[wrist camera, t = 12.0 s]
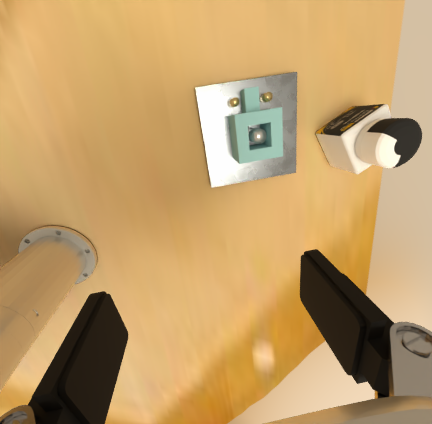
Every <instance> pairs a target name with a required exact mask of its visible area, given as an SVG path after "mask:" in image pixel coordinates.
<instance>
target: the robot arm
mask: <svg viewBox="0 0 432 424" xmlns="http://www.w3.org/2000/svg"><path fill="white" fill-rule="evenodd" d="M96 265H97V254H96V251H95V249H94V247H93V246H92V244H91V243H90V242H89V241H88V240H87V238H85V237H84V236H83V235H81V234H80V233H78V232H76V231H74V230H71V229H69V228H65V227H61V226H44V227H41V228H37V229H35V230H33V231H31V232H30V233H29V234H27V235H26V236H25V237H24V238H23V239H22V241H21V242H20V244H19V249H18V255H16V256H15V257H14V258H13V259H11V260H10V261H9V262H8V263H6V264H5V265H4V266H2V267H1V268H0V392H1V391H2V389H3V387H4V386H5V384H6V383H7V381H8V379H9V378H10V376H11V375H12V373H13V372H14V370H15V369H16V367H17V366H18V364H19V363H20V361H21V360H22V358H23V357H24V355H25V354H26V353H27V351H28V350H29V348H30V347H31V345H32V344H33V343H34V341H35V340H36V338H37V337H38V335H39V334H40V333H41V331H42V330H43V328H44V327H45V325H46V324H47V322H48V321H49V320H50V318H51V317H52V315H53V314H54V312H55V311H56V310H57V308H58V307H59V305H60V304H61V302H62V301H63V300H64V298H65V297H66V295H67V294H68V292H69V291H70V289H71V288H72V287H73V285H74V284H78V283H80V282H83V281H84V280H86V279H87V278H89V276H90V275H91V274H92V273H93V271H94V270H95V267H96ZM300 298H301V301H302V303H303V305H304V306H305V308H306V310H307V311H308V313H309V314H310V316H311V318H312V319H313V321H314V322H315V324H316V326H317V327H318V329H319V330H320V332H321V334H322V335H323V337H324V338H325V340H326V342H327V343H328V345H329V347H330V348H331V350H332V351H333V353H334V354H335V356H336V358H337V359H338V361H339V363H340V364H341V366H342V367H343V369H344V371H345V372H346V373H347V374H348V375H352V377H353V378H354V380H355V381H356V383H357V384H358V383H363V382H367V381H368V383H369V384H370V386H371V387H372V389H373V390H375V399H372V400H367V401H362V402H358V403H353V404H348V405H343V406H338V407H334V408H329V409H324V410H321V411H316V412H312V413H307V414H303V415H299V416H294V417H290V418H286V419H282V420H277V421H273V422H269V423H264V424H432V332H431V331H429V330H427V329H425V328H424V327H422V326H419V325H416V324H414V323H409V322H398V323H394V322H392V321H391V320H390V319H389V318H388V317H387V316H386V315H385V314H384V313H383V312H382V311H381V310H380V309H379V308H378V307H377V306H376V305H375V304H374V303H373V302H372V301H371V300H370V299H369V298H368V297H367V296H366V295H365V294H364V293H363V292H362V291H361V290H360V289H359V288H358V287H357V286H356V285H355V284H354V283H353V282H352V281H351V280H350V279H349V278H348V277H347V276H346V275H344V274H342V273H341V272H340V271H339V270H338V269H337V268H336V267H335V266H334V265H333V264H332V263H331V262H330V261H329V260H328V259H327V258H326V257H325V256H324V255H323V254H322V253H321V252H320V251H318V250H317V249H315V250H310V251H305V252H304V255H302V256H301V272H300ZM127 341H128V331H127V329H126V327H125V325H124V323H123V321H122V319H121V316H120V314H119V312H118V310H117V308H116V306H115V304H114V302H113V300H112V298H111V296H110V294H106V292H98V293H93V294H90V295H89V297H88V298H87V300H86V302H85V304H84V306H83V307H82V309H81V311H80V313H79V314H78V316H77V318H76V320H75V321H74V323H73V325H72V327H71V329H70V330H69V332H68V334H67V336H66V337H65V339H64V341H63V343H62V344H61V346H60V348H59V350H58V351H57V353H56V355H55V357H54V359H53V360H52V362H51V364H50V366H49V367H48V369H47V371H46V373H45V374H44V376H43V378H42V380H41V382H40V383H39V385H38V387H37V389H36V390H35V392H34V394H33V396H32V399H31V400H30V402H29V404H28V405H21V406H18V407H16V408H13V409H11V410H10V411H8V412H7V413H5V414H4V415H2V416H1V417H0V424H105V421H106V417H107V413H108V410H109V406H110V402H111V399H112V395H113V392H114V388H115V384H116V381H117V377H118V373H119V370H120V366H121V362H122V359H123V355H124V352H125V348H126V344H127Z"/></svg>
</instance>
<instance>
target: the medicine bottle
mask: <svg viewBox="0 0 432 424" xmlns="http://www.w3.org/2000/svg"><path fill="white" fill-rule="evenodd" d="M316 136H317V138H318V140H319V143H320V145H321V147H322V149H323V151H324V154H325V156H326V158H327V160H328V162H329V165H330V166H333V167H336V168H339V169H342V170H345V171H349V172H352V173H355V174H359V173H361V172H362V171H364V170H365V169H367V168H368V167H370V166H371V165H377V166H381V167H385V168H395V167H398V166H400V165H402V164H404V163H406V162H407V161H408V160H410V159H411V158H412V157H413V156H414V154H415V153H416V152H417V150H418V148H419V146H420V143H421V139H422V131H421V128H420V126H419V124H418V123H417V122H416V121H415V120H413V119H409V118H391V114H390V110H389V107H388V105H387V104H380V105H368V106H355V107H351V108H349V109H348V110H346V111H345V112H344V113H342V114H341V115H339V116H338V117H337V118H335V119H334V120H332V121H331V122H330V123H328V124H327V125H325V126H324V127H323V128H321V129H320V130H318V131H317V132H316Z"/></svg>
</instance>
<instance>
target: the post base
mask: <svg viewBox="0 0 432 424" xmlns="http://www.w3.org/2000/svg"><path fill="white" fill-rule="evenodd" d="M258 86H259V101H260V110H266V109H272V108H279V107H282V124H283V156H282V157H276V158H271V159H265V160H259V161H254V162H248V163H242V164H239V163H238V162H237V161H235V160H234V159H233V155H232V147H231V138H230V129H229V121H228V116H229V115H235V114H241V113H242V106H241V95H240V91H241V90H243V89H245V88H251V87H258ZM195 92H196V98H197V104H198V110H199V117H200V123H201V129H202V135H203V141H204V147H205V153H206V159H207V165H208V172H209V178H210V184H211V187H218V186H223V185H229V184H235V183H240V182H246V181H251V180H257V179H263V178H268V177H274V176H280V175H285V174H291V173H296V125H297V72H293V73H286V74H280V75H273V76H267V77H260V78H254V79H247V80H241V81H234V82H228V83H221V84H215V85H208V86H202V87H195ZM248 137H249V145H253V144H261V143H263V142H264V141H265V140H266V137H267V135H266V132H265V130H263V129H260V124H257V125H252V126H248Z"/></svg>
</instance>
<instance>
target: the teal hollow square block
mask: <svg viewBox="0 0 432 424" xmlns="http://www.w3.org/2000/svg"><path fill="white" fill-rule="evenodd" d="M240 95H241V106H242V113H241V114H235V115H229V116H228V121H229V129H230V138H231V147H232V155H233V159H234V160H235V161H237V162H238V163H239V164H242V163H248V162H254V161H259V160H265V159H271V158H276V157H282V156H283V124H282V107H279V108H272V109H266V110H260V101H259V86H258V87H251V88H245V89H243V90H241V91H240ZM257 124H260V129H263V130H265V132H266V135H267V137H266V140H265V141H264V142H263V143H261V144H253V145H249V137H248V126H252V125H257Z"/></svg>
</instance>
